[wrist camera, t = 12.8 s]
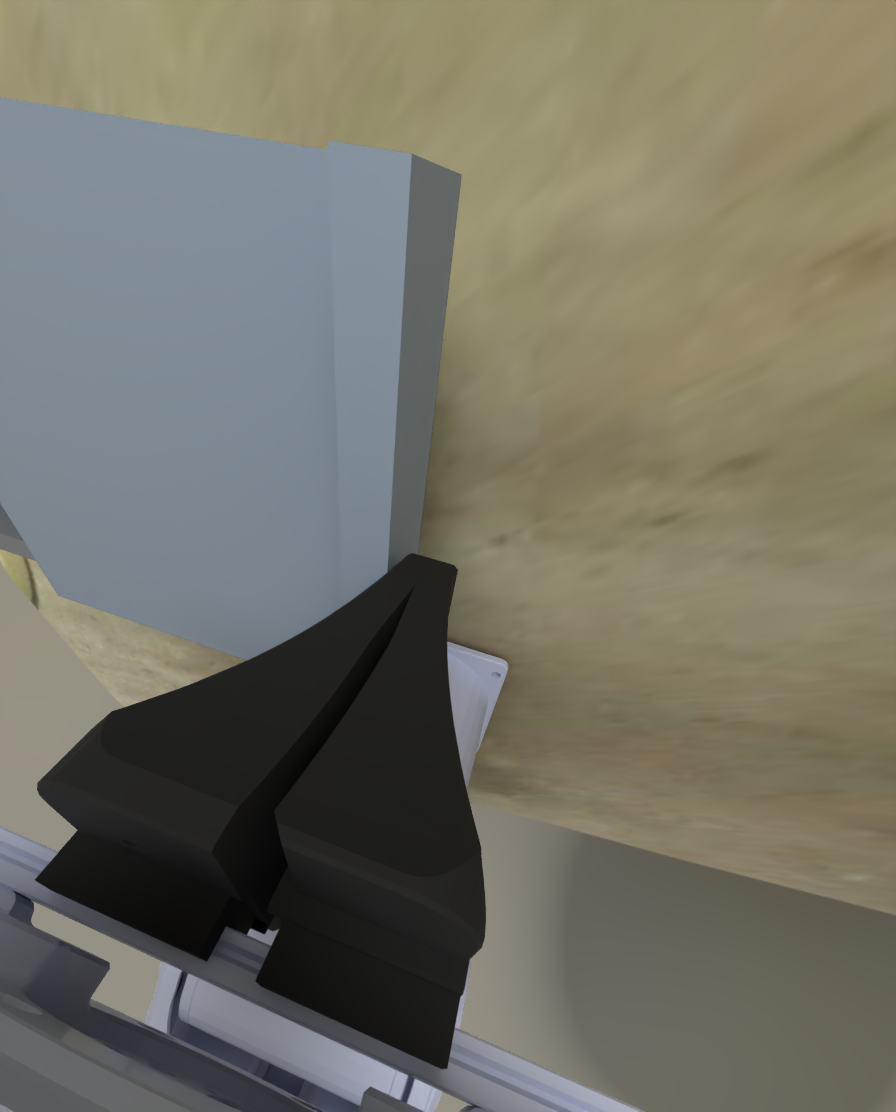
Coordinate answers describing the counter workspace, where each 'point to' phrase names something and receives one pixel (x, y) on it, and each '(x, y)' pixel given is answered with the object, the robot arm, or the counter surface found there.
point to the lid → (216, 367)
